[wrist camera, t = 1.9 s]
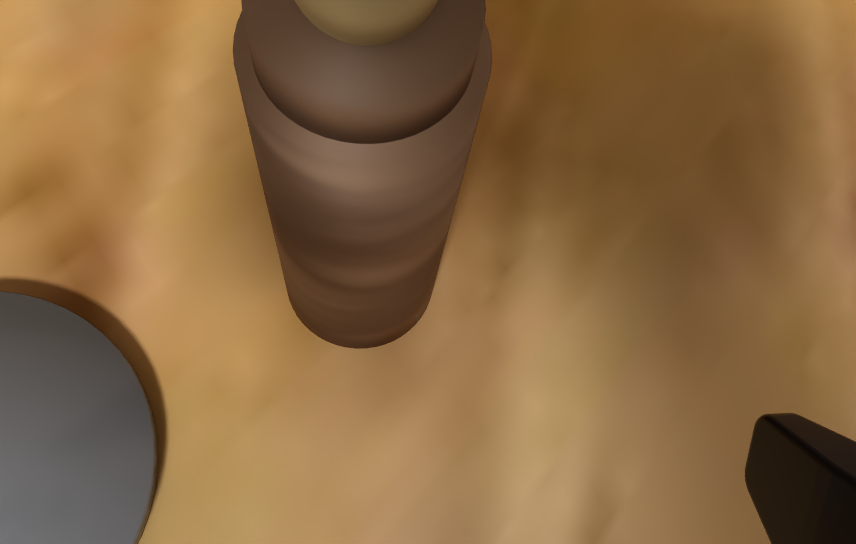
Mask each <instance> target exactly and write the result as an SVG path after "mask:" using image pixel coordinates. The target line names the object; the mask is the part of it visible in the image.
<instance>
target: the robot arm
mask: <svg viewBox="0 0 856 544" xmlns="http://www.w3.org/2000/svg"><path fill="white" fill-rule="evenodd" d="M745 481H746V485H747V489H748V492H749V494H750V496H751V498H752V501H753V503H754V505H755V508H756V510H757V512H758V514H759V517H760V519H761V521H762V524H763V526H764V528H765V530H766V533H767V535H768V537H769V540H770V542H771V544H856V442H855V441H853V440H851V439H849V438H847V437H844V436H842V435H840V434H838V433H836V432H834V431H832V430H829V429H827V428H825V427H823V426H821V425H819V424H816V423H814V422H812V421H810V420H808V419H806V418H804V417H801V416H799V415H797V414H793V413H781V414H765V415H762V416H761V417H759V418H758V420H757V421H756V423H755V426H754V431H753V435H752V440H751V444H750V449H749V453H748V458H747V462H746V467H745Z"/></svg>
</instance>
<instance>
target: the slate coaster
mask: <svg viewBox="0 0 856 544" xmlns="http://www.w3.org/2000/svg"><path fill="white" fill-rule="evenodd" d="M157 469H158V443H157V433H156V427H155V422H154V416H153V412H152V409H151V406H150V403H149V400H148V397H147V394H146V392H145V389H144V387H143V385H142V383H141V381H140V379H139V377H138V375H137V373H136V372H135V370H134V369H133V368H132V366H131V365H130V363H129V362H128V360H127V359H126V358H125V356H124V355H123V354H122V353H121V352H120V351H119V350H118V349H117V347H116V346H115V345H114V344H113V343H112V342H111V341H110V340H109V339H108V338H107V337H106V336H105V335H104V334H103V333H102V332H100V331H99V330H98V329H96V328H95V327H94V326H93V325H91V324H90V323H89V322H87V321H86V320H85V319H83V318H81V317H80V316H78V315H76V314H74V313H73V312H71V311H69V310H67V309H66V308H63V307H61V306H58V305H56V304H53V303H51V302H48V301H46V300H43V299H39V298H35V297H31V296H27V295H23V294H17V293H9V292H1V291H0V544H138V542H139V540H140V538H141V536H142V533H143V530H144V527H145V524H146V522H147V519H148V516H149V513H150V510H151V505H152V501H153V497H154V492H155V488H156V479H157Z"/></svg>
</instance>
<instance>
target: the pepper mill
mask: <svg viewBox="0 0 856 544" xmlns="http://www.w3.org/2000/svg"><path fill="white" fill-rule="evenodd" d="M485 11H486V8H485V0H242V12H241V14H240V17H239V19H238V22H237V25H236V30H235V34H234V42H233V57H234V66H235V70H236V74H237V79H238V83H239V87H240V92H241V96H242V100H243V104H244V109H245V113H246V117H247V121H248V126H249V130H250V134H251V138H252V143H253V147H254V151H255V155H256V160H257V164H258V168H259V173H260V177H261V181H262V185H263V190H264V194H265V198H266V202H267V207H268V211H269V215H270V219H271V224H272V228H273V232H274V237H275V241H276V245H277V249H278V254H279V258H280V262H281V266H282V271H283V275H284V279H285V283H286V288H287V292H288V296H289V300H290V302H291V305H292V307H293V309H294V311H295V313H296V315H297V316H298V318H299V319H300V320H301V321H302V323H303V324H304V325H305V326H306V327H307V328H308V329H309V330H310V331H311V332H313V333H314V334H316V335H317V336H318V337H320V338H322V339H324V340H325V341H328V342H330V343H333V344H335V345H339V346H343V347H348V348H371V347H377V346H381V345H384V344H387V343H389V342H392V341H394V340H396V339H398V338H399V337H401V336H403V335H404V334H405V333H407V332H408V331H409V330H410V329H411V328H412V327H413V326H414V325H415V324H416V323H417V322H418V321H419V319H420V318H421V317H422V315H423V313H424V312H425V310H426V308H427V306H428V303H429V301H430V297H431V294H432V290H433V286H434V282H435V279H436V275H437V271H438V268H439V264H440V260H441V256H442V253H443V249H444V245H445V241H446V238H447V234H448V230H449V227H450V223H451V219H452V215H453V212H454V208H455V204H456V201H457V197H458V193H459V189H460V186H461V182H462V178H463V174H464V171H465V167H466V163H467V160H468V156H469V152H470V148H471V145H472V141H473V137H474V134H475V130H476V126H477V122H478V119H479V115H480V111H481V107H482V104H483V100H484V96H485V93H486V89H487V85H488V81H489V77H490V73H491V64H492V51H491V42H490V38H489V33H488V30H487V27H486V24H485V22H484V21H485Z"/></svg>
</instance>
